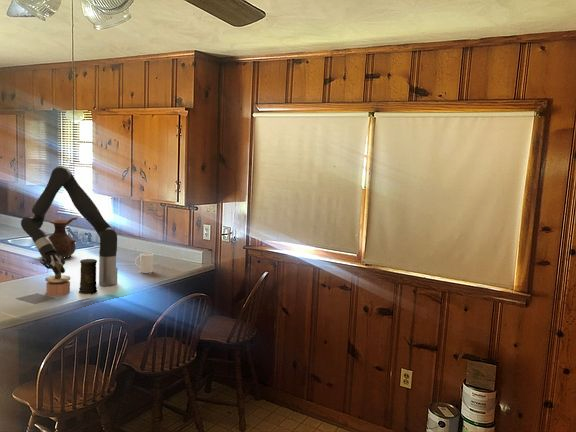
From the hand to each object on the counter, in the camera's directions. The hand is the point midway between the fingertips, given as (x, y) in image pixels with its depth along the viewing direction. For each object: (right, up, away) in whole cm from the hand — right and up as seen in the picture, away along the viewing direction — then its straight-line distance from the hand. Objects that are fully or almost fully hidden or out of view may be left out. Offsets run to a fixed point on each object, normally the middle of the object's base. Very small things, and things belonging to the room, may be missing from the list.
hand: (60, 272), depth 246 cm
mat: (-7, -12, -10) cm, 18 cm away
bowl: (-2, -11, +2) cm, 12 cm away
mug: (+26, -7, +58) cm, 64 cm away
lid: (-2, -4, +1) cm, 4 cm away
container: (+12, -12, +6) cm, 18 cm away
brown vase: (-43, 0, +85) cm, 95 cm away
